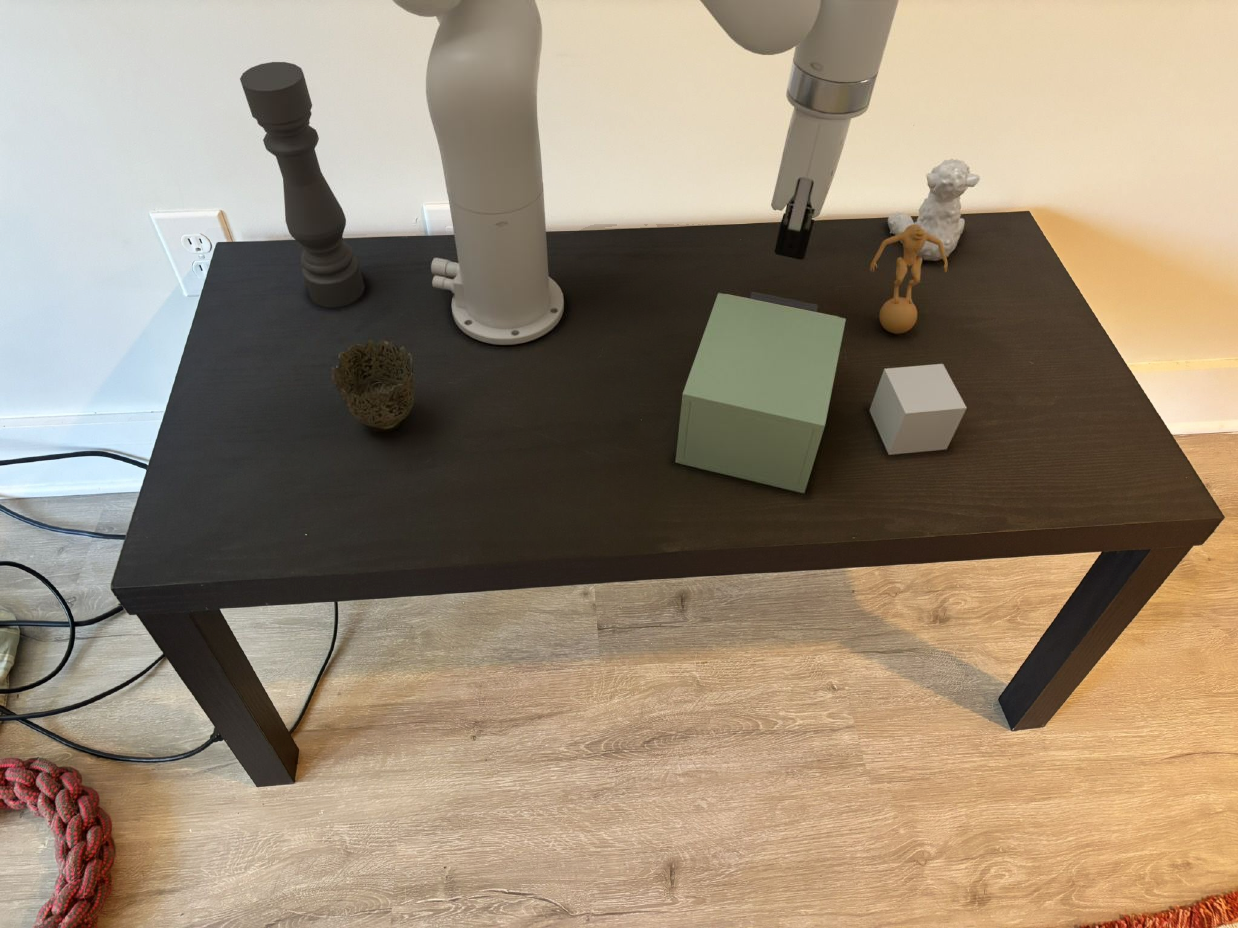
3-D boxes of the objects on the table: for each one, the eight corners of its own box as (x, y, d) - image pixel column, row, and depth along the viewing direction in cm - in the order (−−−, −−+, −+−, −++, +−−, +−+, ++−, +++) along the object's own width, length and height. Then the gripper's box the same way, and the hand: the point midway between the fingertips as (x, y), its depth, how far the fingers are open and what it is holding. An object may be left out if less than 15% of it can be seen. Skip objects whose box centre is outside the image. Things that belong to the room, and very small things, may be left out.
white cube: (924, 405, 87) (943, 363, 83) (946, 449, 84) (967, 407, 79) (868, 410, 87) (884, 368, 82) (888, 455, 83) (905, 413, 78)
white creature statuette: (960, 228, 107) (994, 140, 98) (972, 270, 102) (1009, 181, 93) (885, 223, 108) (912, 135, 99) (893, 265, 102) (922, 176, 93)
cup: (410, 457, 82) (394, 400, 76) (338, 445, 83) (317, 387, 77) (436, 402, 86) (423, 344, 80) (368, 391, 87) (350, 333, 81)
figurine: (860, 341, 94) (888, 251, 84) (850, 305, 97) (876, 215, 88) (934, 341, 94) (971, 251, 84) (921, 306, 98) (955, 216, 88)
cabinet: (708, 363, 91) (718, 292, 83) (825, 388, 89) (846, 318, 81) (675, 462, 82) (682, 393, 75) (804, 493, 80) (825, 425, 72)
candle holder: (375, 285, 98) (320, 72, 79) (337, 314, 95) (270, 99, 76) (336, 267, 100) (273, 54, 81) (298, 295, 97) (222, 80, 78)
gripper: (803, 41, 81) (768, 207, 95) (774, 115, 72) (741, 287, 86) (881, 55, 80) (834, 221, 94) (863, 132, 71) (814, 303, 85)
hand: (790, 252), depth 90 cm, fingers closed
